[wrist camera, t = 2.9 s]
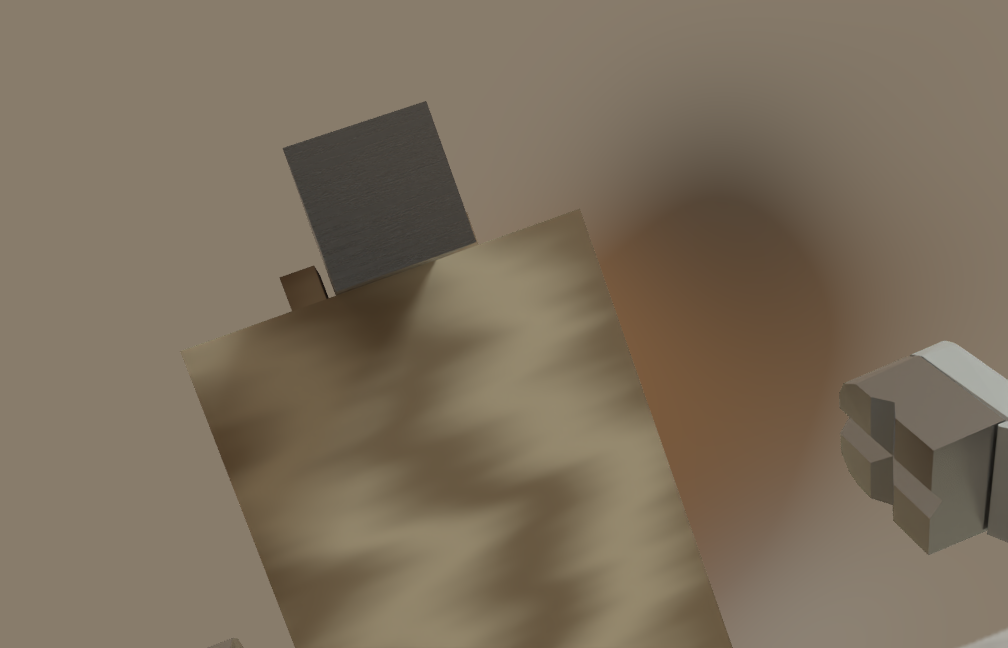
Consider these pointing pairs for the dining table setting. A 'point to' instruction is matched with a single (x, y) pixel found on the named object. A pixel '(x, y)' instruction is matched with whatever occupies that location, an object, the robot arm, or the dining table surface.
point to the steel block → (379, 197)
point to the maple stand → (458, 459)
